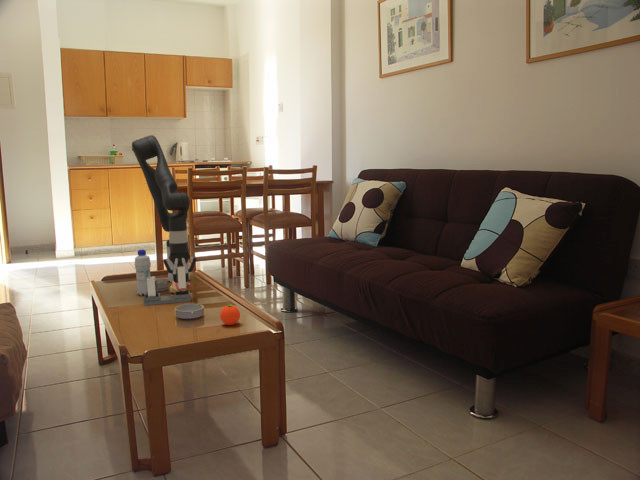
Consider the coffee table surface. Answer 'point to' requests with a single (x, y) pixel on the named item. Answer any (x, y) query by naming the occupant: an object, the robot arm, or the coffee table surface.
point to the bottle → (142, 271)
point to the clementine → (230, 315)
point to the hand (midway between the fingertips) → (181, 282)
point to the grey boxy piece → (155, 297)
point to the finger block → (181, 276)
